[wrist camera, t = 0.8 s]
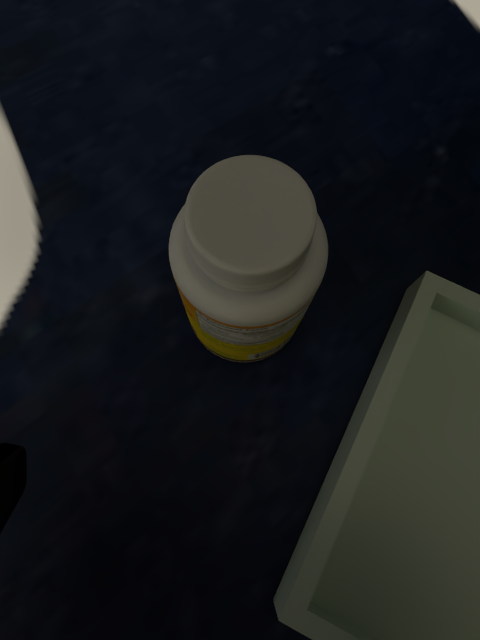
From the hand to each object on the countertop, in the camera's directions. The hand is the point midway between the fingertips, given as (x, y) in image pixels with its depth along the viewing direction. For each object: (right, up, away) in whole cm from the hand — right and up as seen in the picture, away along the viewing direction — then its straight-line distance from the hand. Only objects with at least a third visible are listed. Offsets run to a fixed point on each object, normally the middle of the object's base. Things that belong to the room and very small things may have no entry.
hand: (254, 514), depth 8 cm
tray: (+11, -5, +12) cm, 17 cm away
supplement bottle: (0, +4, +15) cm, 15 cm away
